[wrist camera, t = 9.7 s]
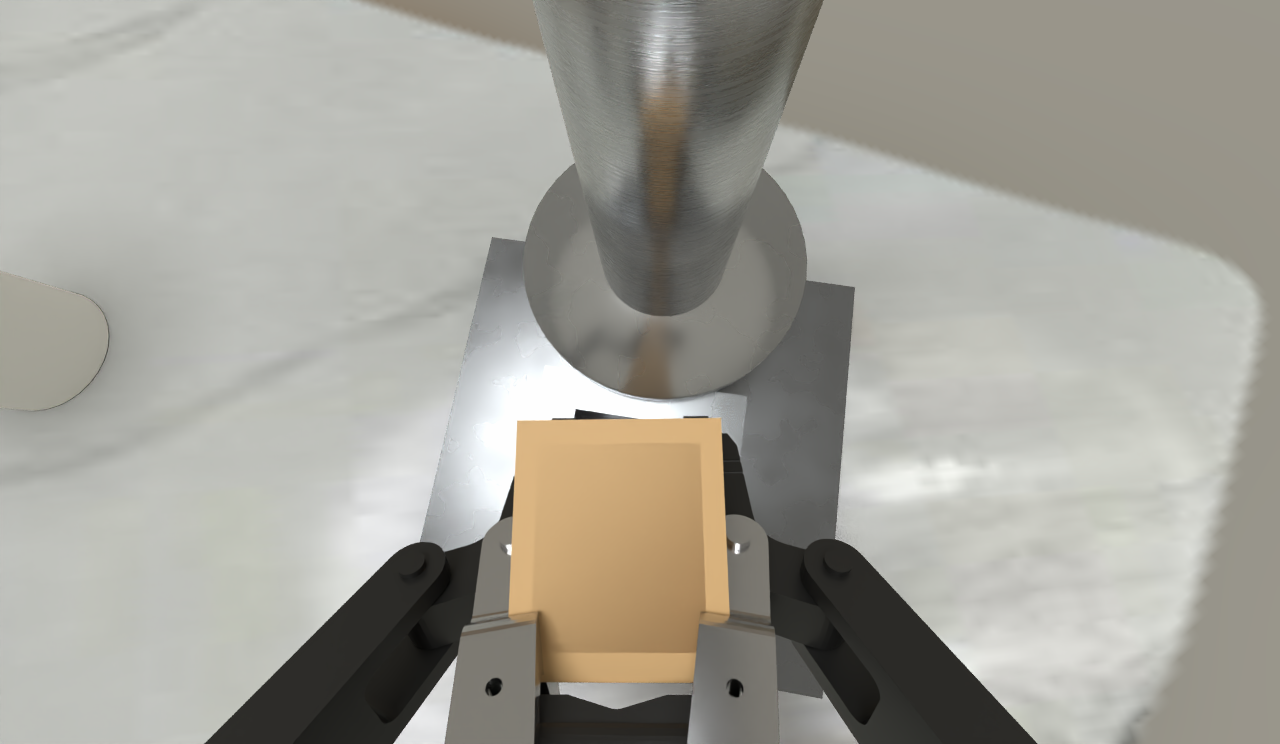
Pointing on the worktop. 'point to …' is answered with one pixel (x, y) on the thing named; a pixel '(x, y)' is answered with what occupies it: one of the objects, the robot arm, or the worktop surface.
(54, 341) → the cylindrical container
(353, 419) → the worktop surface
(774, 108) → the grey fixture with cylinder
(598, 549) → the orange square peg
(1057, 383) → the worktop surface
